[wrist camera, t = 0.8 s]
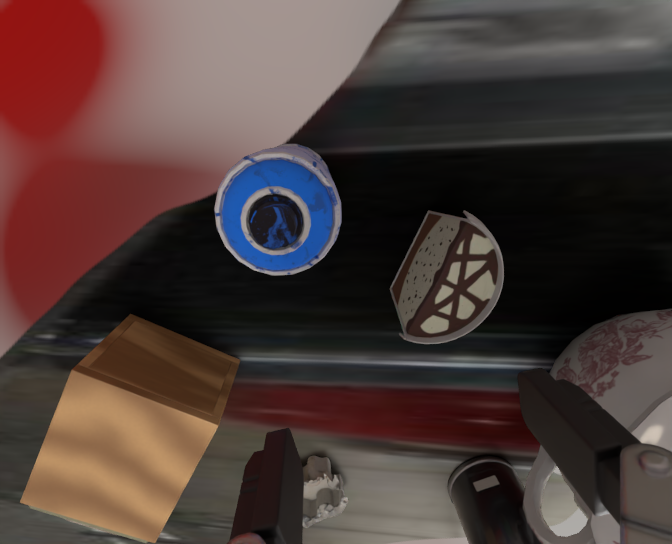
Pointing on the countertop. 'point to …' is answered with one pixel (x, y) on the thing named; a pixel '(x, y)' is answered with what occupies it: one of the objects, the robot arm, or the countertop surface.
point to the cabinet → (131, 429)
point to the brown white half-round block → (447, 279)
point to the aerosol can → (278, 210)
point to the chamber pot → (612, 403)
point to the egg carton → (321, 491)
